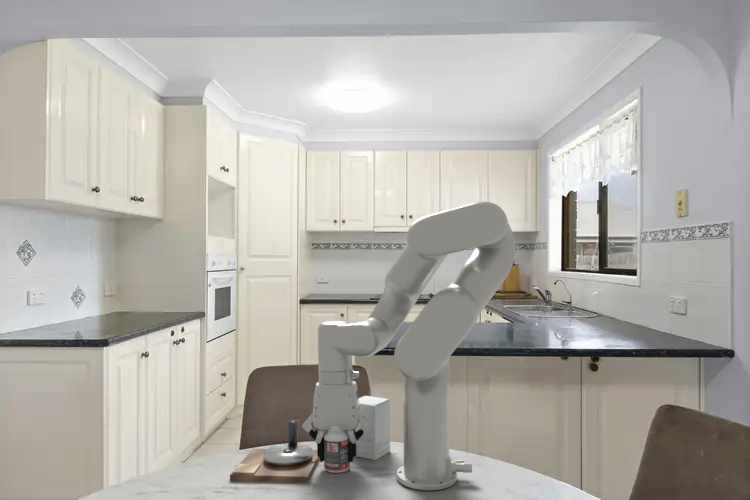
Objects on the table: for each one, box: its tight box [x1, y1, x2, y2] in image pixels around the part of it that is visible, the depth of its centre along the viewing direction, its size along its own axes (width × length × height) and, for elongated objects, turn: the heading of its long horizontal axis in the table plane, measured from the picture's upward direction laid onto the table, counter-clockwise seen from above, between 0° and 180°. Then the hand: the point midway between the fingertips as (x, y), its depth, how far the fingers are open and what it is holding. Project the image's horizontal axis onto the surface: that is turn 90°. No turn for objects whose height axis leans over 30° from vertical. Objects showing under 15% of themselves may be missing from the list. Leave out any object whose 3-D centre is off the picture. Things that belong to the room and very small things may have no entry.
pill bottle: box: [323, 426, 351, 474], centre depth 111 cm, size 6×6×10 cm
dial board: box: [229, 448, 320, 484], centre depth 112 cm, size 16×16×2 cm
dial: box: [263, 419, 314, 466], centre depth 114 cm, size 11×11×6 cm
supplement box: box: [355, 395, 391, 461], centre depth 121 cm, size 7×7×13 cm
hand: (337, 459), depth 111 cm, fingers closed on pill bottle, 5 cm apart
